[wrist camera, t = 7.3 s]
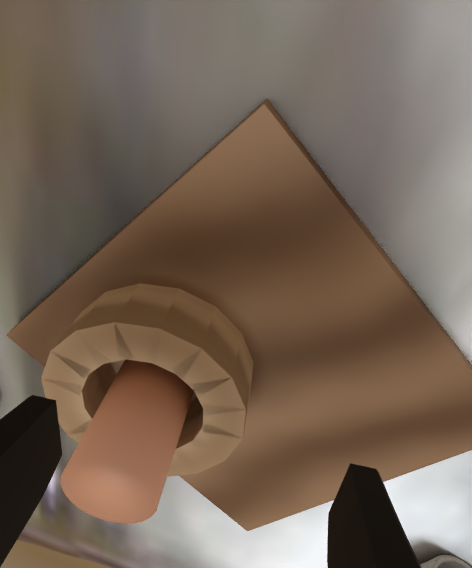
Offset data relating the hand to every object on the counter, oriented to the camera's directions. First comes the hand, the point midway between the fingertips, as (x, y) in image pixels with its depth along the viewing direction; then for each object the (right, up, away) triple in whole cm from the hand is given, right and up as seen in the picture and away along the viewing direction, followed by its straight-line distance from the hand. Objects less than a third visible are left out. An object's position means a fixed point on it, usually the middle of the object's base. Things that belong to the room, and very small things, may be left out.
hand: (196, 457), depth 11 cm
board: (+2, 0, +12) cm, 12 cm away
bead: (-3, 0, +11) cm, 11 cm away
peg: (-3, 0, +11) cm, 11 cm away
